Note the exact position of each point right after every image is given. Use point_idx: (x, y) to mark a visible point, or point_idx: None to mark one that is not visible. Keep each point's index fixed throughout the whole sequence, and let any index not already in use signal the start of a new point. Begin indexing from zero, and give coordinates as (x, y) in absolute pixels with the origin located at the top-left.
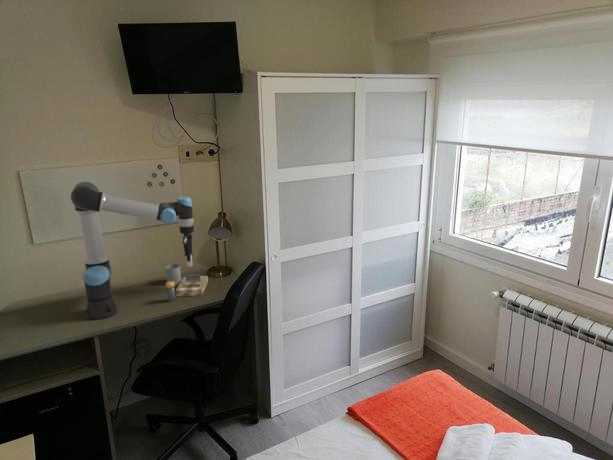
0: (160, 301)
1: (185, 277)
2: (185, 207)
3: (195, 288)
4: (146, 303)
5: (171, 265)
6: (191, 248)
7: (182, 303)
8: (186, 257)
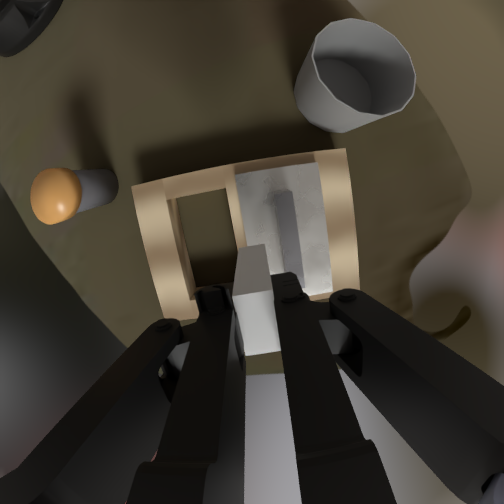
0: (90, 138)
1: (315, 172)
2: None
3: (172, 288)
4: (73, 91)
5: (399, 51)
6: (356, 381)
7: (86, 250)
8: (234, 287)
